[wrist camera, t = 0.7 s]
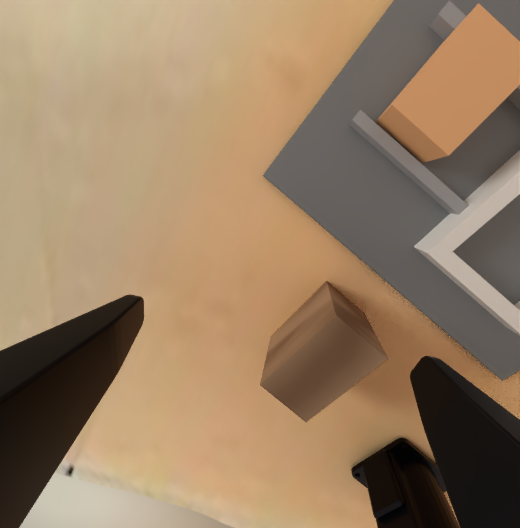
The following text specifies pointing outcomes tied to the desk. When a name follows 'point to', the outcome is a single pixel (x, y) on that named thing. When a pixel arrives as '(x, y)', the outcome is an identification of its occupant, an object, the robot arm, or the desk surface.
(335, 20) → the desk surface
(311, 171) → the grey base board
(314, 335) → the block
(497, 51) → the block
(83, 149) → the desk surface
